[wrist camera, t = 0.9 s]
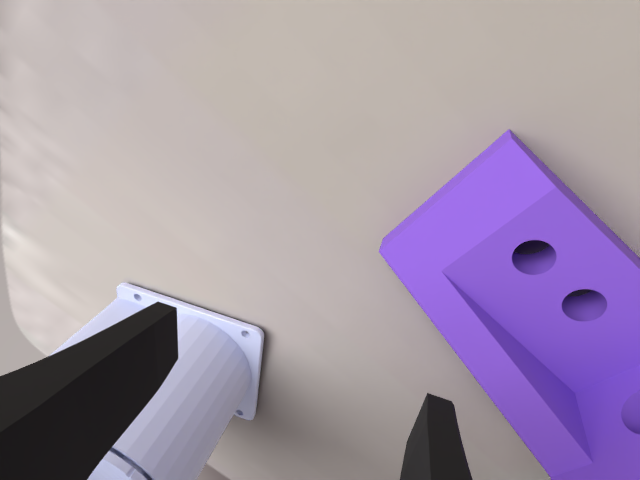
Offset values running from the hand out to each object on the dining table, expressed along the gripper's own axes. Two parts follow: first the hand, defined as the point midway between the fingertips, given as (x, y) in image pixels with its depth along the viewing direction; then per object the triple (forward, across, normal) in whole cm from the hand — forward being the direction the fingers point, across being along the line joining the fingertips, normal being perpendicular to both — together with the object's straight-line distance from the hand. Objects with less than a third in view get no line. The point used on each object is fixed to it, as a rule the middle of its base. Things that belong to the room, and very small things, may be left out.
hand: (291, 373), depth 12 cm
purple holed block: (+10, -8, 0) cm, 13 cm away
